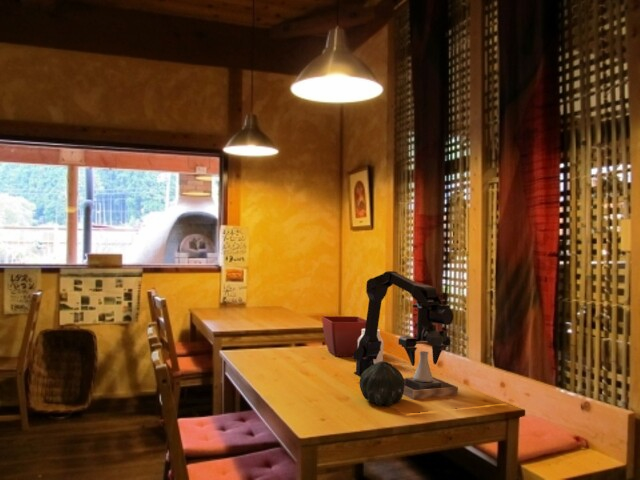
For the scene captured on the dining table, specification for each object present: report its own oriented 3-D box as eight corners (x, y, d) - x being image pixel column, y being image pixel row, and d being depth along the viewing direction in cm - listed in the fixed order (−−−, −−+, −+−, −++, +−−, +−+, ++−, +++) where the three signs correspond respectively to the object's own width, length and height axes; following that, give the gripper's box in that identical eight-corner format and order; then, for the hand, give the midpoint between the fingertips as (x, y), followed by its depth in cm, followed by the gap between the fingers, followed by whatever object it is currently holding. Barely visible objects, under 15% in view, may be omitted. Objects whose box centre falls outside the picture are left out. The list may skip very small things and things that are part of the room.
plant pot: (370, 357, 250) (371, 321, 250) (331, 358, 245) (332, 322, 245) (356, 349, 268) (357, 316, 269) (320, 350, 263) (321, 316, 264)
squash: (379, 377, 190) (366, 349, 183) (417, 386, 181) (404, 358, 173) (361, 409, 182) (345, 382, 174) (399, 421, 173) (384, 393, 165)
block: (419, 395, 185) (419, 384, 185) (405, 388, 194) (405, 377, 194) (440, 393, 189) (441, 382, 189) (426, 387, 197) (426, 376, 197)
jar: (385, 365, 233) (386, 331, 234) (365, 367, 230) (367, 332, 230) (373, 360, 244) (374, 327, 244) (354, 361, 241) (355, 328, 241)
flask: (434, 378, 194) (435, 351, 194) (432, 383, 187) (433, 354, 187) (414, 376, 196) (415, 349, 196) (411, 381, 189) (412, 353, 189)
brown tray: (413, 401, 180) (413, 390, 180) (389, 389, 195) (390, 379, 195) (457, 397, 187) (457, 387, 187) (431, 385, 202) (431, 376, 202)
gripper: (415, 325, 180) (414, 371, 180) (460, 323, 188) (459, 368, 187) (398, 320, 191) (397, 364, 190) (441, 319, 198) (440, 361, 198)
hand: (424, 364), depth 191 cm, fingers open, 9 cm apart
